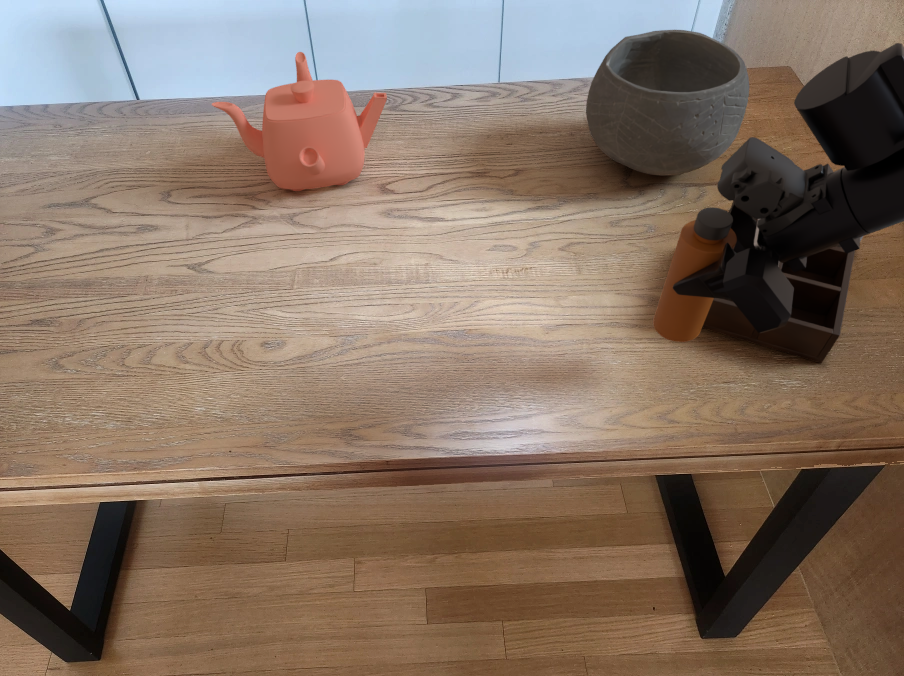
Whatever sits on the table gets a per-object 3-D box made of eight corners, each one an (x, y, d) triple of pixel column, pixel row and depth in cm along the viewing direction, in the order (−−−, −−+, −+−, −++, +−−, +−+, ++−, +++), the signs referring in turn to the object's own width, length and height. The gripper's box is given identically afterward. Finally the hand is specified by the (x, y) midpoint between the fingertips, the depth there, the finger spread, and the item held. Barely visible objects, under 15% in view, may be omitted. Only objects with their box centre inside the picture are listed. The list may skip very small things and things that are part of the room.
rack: (837, 279, 81) (855, 250, 78) (821, 363, 73) (840, 335, 70) (713, 248, 86) (723, 219, 83) (685, 323, 78) (696, 295, 75)
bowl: (744, 198, 92) (785, 95, 81) (591, 206, 93) (610, 105, 82) (701, 117, 105) (731, 18, 94) (568, 124, 107) (581, 28, 95)
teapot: (234, 182, 103) (208, 97, 92) (313, 126, 111) (298, 43, 101) (321, 222, 95) (303, 134, 84) (399, 159, 104) (392, 72, 93)
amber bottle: (707, 319, 70) (751, 210, 59) (691, 348, 68) (734, 241, 57) (662, 303, 72) (697, 195, 61) (645, 331, 70) (679, 224, 59)
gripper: (814, 65, 55) (650, 159, 67) (798, 194, 45) (608, 278, 57) (876, 164, 59) (710, 236, 71) (874, 304, 49) (680, 361, 61)
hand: (679, 272), depth 65 cm, fingers closed on amber bottle, 5 cm apart
